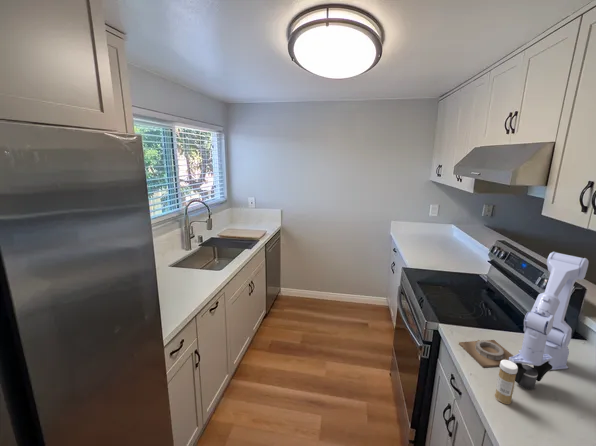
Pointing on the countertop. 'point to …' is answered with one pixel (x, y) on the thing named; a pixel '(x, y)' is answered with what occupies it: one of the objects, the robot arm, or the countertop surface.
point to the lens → (529, 378)
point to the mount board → (482, 359)
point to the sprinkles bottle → (506, 381)
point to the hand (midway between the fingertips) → (526, 380)
